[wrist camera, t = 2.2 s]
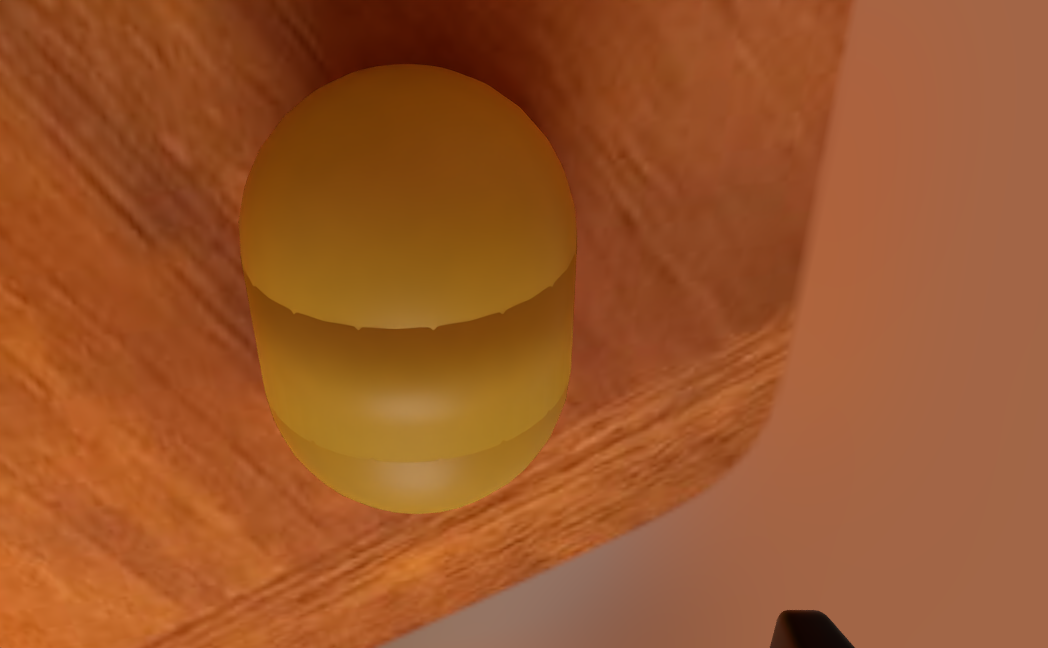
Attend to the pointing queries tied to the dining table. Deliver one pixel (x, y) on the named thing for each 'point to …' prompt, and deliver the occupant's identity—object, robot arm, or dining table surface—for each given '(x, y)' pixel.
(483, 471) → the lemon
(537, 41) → the dining table surface
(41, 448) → the dining table surface
